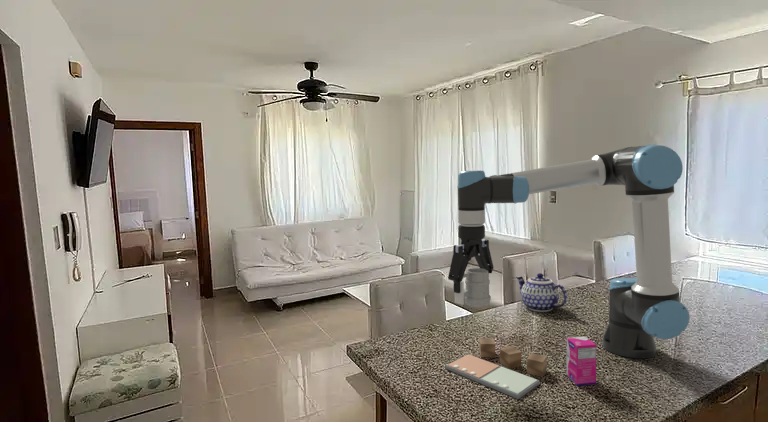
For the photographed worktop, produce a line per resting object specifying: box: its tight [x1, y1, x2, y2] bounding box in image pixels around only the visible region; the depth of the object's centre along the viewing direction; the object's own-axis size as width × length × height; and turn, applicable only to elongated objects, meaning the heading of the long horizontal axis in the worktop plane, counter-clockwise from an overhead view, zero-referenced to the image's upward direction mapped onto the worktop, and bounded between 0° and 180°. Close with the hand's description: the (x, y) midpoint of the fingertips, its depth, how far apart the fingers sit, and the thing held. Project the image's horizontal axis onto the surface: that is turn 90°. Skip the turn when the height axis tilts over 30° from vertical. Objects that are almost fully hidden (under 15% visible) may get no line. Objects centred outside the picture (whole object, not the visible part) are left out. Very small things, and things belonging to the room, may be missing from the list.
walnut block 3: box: [526, 352, 548, 378], centre depth 125 cm, size 4×4×4 cm
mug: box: [452, 267, 492, 308], centre depth 125 cm, size 8×12×12 cm, turn 113°
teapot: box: [515, 272, 568, 313], centre depth 180 cm, size 25×15×15 cm, turn 30°
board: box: [445, 354, 540, 400], centre depth 123 cm, size 24×11×1 cm, turn 42°
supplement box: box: [566, 336, 597, 387], centre depth 119 cm, size 6×6×12 cm
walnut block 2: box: [499, 345, 522, 370], centre depth 130 cm, size 4×4×4 cm
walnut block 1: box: [478, 337, 496, 359], centre depth 137 cm, size 4×4×4 cm
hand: (471, 298), depth 125 cm, fingers closed on mug, 11 cm apart
